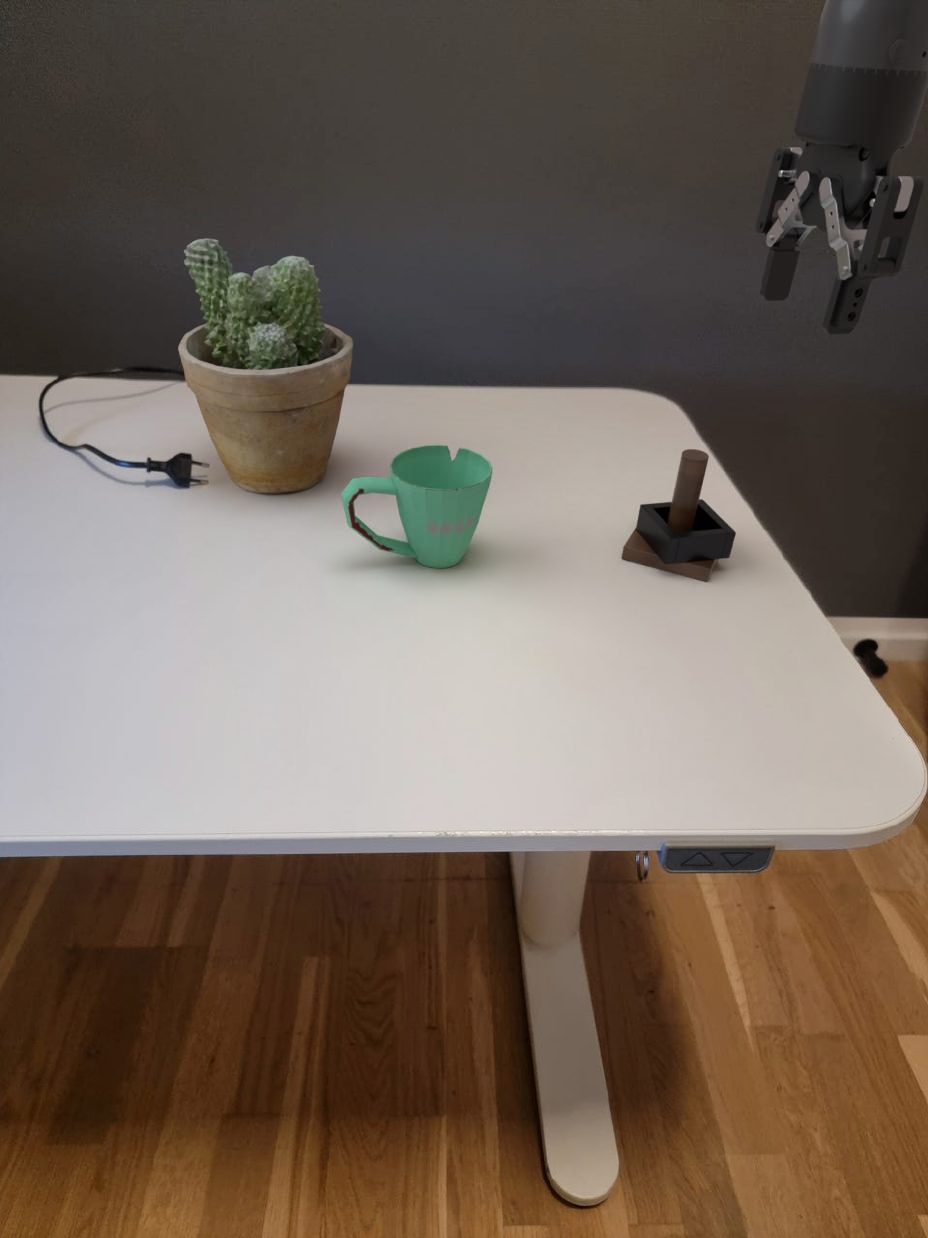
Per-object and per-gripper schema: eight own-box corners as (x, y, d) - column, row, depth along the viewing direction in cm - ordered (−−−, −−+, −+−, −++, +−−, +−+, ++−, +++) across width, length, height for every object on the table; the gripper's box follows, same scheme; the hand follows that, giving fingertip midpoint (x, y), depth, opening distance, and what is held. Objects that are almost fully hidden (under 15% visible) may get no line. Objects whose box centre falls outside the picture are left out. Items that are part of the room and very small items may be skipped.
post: (725, 542, 93) (749, 447, 87) (707, 582, 87) (732, 483, 80) (644, 521, 96) (662, 428, 90) (621, 558, 89) (638, 461, 83)
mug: (467, 526, 93) (471, 440, 88) (500, 573, 86) (508, 482, 80) (333, 544, 89) (329, 455, 83) (357, 596, 82) (353, 502, 76)
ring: (729, 558, 88) (736, 532, 86) (665, 564, 86) (670, 538, 84) (696, 523, 93) (702, 498, 92) (635, 529, 92) (640, 504, 90)
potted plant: (361, 442, 110) (356, 231, 95) (350, 513, 95) (342, 275, 80) (215, 438, 109) (187, 224, 94) (180, 508, 94) (141, 267, 79)
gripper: (1000, 70, 51) (906, 343, 61) (854, 55, 62) (794, 288, 72) (893, 66, 49) (813, 348, 59) (762, 51, 61) (713, 290, 70)
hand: (803, 314), depth 65 cm, fingers open, 8 cm apart
